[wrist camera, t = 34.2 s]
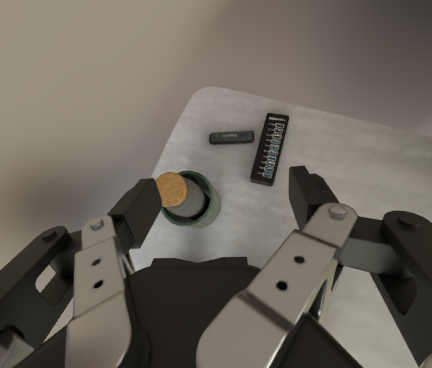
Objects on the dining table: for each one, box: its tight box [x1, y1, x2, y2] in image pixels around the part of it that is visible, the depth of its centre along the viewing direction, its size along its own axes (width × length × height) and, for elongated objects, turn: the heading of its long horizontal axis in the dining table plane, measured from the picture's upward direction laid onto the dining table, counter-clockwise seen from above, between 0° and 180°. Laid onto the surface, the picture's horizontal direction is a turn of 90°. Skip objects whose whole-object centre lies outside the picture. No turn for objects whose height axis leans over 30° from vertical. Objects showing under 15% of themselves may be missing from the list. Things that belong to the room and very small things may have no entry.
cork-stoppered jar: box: [156, 172, 210, 220], centre depth 35 cm, size 6×6×15 cm
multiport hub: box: [251, 113, 289, 186], centre depth 42 cm, size 4×14×2 cm, turn 164°
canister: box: [161, 171, 221, 228], centre depth 39 cm, size 9×9×8 cm
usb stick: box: [209, 131, 254, 144], centre depth 44 cm, size 10×3×2 cm, turn 88°
